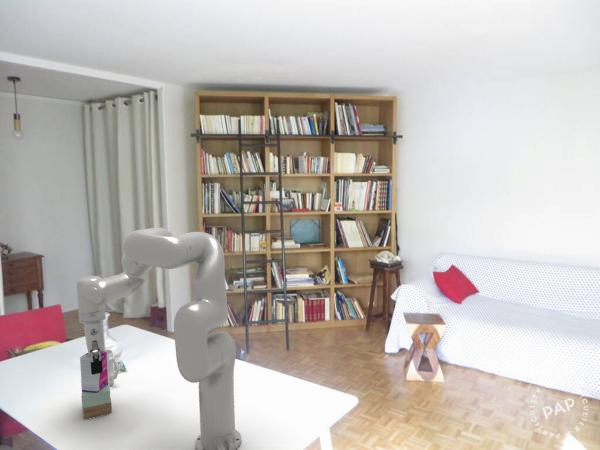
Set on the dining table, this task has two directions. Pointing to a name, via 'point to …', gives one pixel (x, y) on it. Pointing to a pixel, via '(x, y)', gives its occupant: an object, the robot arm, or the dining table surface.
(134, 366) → the dining table surface
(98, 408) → the walnut base block
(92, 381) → the supplement box
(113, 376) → the mug
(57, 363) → the dining table surface
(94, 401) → the sage top block
